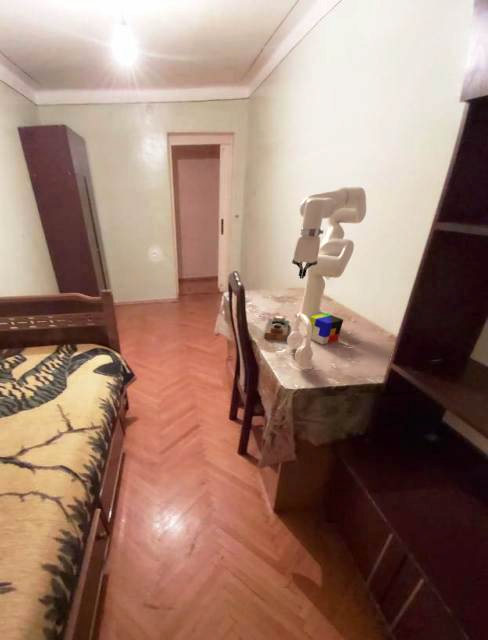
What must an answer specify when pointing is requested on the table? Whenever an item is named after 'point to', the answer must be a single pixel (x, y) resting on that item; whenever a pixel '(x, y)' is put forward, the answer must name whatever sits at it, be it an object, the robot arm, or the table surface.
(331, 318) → the puzzle toy
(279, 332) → the block walnut
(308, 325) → the headset
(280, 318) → the key ivory
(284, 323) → the block black
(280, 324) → the key ebony
